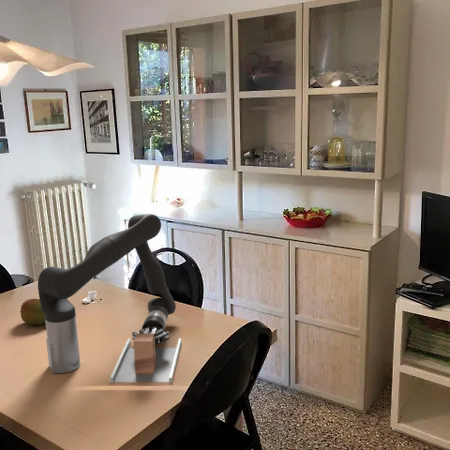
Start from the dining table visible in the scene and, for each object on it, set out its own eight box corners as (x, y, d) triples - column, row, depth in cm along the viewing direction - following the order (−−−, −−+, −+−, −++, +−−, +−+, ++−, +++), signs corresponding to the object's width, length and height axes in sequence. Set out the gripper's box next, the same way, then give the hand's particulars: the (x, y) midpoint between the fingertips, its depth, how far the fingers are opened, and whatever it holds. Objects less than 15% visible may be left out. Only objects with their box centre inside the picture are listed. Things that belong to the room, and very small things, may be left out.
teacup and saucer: (84, 306, 213) (83, 297, 212) (78, 300, 219) (78, 291, 218) (104, 301, 217) (103, 292, 216) (98, 295, 224) (97, 287, 223)
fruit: (21, 320, 198) (18, 296, 196) (54, 314, 203) (51, 291, 201) (22, 332, 188) (19, 307, 186) (57, 325, 193) (54, 301, 190)
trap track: (172, 385, 150) (171, 377, 150) (110, 385, 151) (109, 377, 150) (181, 344, 175) (181, 338, 175) (128, 345, 176) (128, 338, 175)
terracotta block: (153, 374, 155) (151, 341, 152) (135, 374, 155) (133, 341, 152) (155, 365, 160) (154, 333, 157) (138, 365, 160) (136, 333, 158)
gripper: (135, 314, 175) (124, 337, 158) (173, 314, 174) (166, 336, 158) (136, 334, 177) (126, 358, 160) (173, 334, 176) (167, 358, 159)
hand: (146, 347), depth 159 cm, fingers closed
